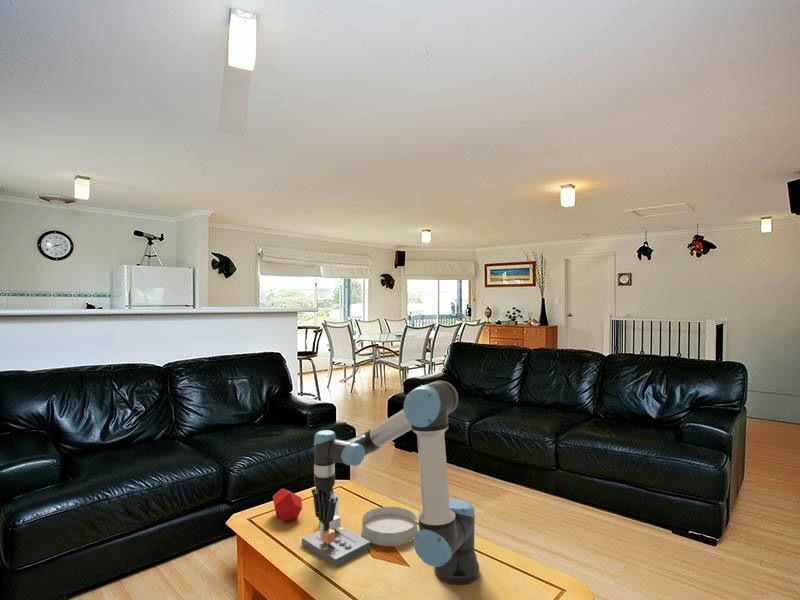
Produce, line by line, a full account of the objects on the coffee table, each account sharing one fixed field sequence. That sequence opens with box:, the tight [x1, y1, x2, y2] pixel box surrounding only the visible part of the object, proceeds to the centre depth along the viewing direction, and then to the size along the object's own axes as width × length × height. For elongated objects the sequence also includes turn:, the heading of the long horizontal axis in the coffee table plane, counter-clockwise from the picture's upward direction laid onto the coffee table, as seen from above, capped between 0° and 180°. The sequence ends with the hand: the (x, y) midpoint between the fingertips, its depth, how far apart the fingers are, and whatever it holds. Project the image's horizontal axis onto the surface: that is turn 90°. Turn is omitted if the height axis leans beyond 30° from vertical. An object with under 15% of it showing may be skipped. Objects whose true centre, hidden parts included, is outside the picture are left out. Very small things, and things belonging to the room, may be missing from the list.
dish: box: [360, 506, 419, 547], centre depth 182 cm, size 22×22×5 cm
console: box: [301, 524, 371, 567], centre depth 171 cm, size 20×16×3 cm
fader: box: [324, 529, 335, 545], centre depth 167 cm, size 2×3×5 cm
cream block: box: [329, 515, 341, 531], centre depth 177 cm, size 2×3×5 cm
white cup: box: [329, 492, 340, 526], centre depth 190 cm, size 8×8×10 cm
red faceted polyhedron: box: [272, 488, 303, 523], centre depth 193 cm, size 12×12×15 cm
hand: (324, 538), depth 169 cm, fingers closed
